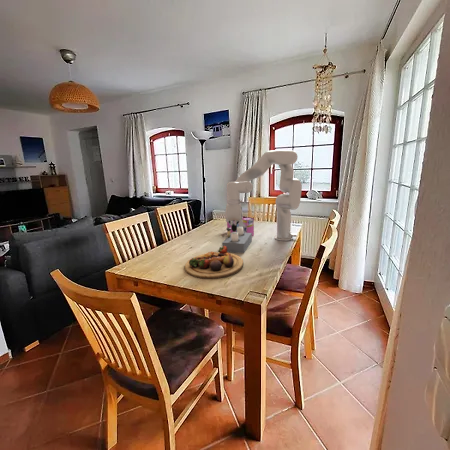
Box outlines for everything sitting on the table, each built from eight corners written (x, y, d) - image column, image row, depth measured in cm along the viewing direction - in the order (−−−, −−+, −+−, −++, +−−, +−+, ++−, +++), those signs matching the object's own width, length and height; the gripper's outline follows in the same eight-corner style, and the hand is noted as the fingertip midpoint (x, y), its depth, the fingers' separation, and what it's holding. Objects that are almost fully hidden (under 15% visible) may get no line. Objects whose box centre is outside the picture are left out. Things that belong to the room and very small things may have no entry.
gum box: (225, 231, 201) (225, 215, 198) (233, 229, 206) (232, 214, 202) (247, 237, 183) (246, 219, 180) (254, 235, 188) (254, 217, 185)
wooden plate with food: (212, 252, 157) (211, 239, 155) (254, 262, 137) (254, 248, 135) (172, 270, 133) (170, 256, 131) (217, 286, 113) (215, 270, 111)
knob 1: (239, 242, 159) (238, 232, 157) (237, 244, 155) (237, 233, 153) (232, 241, 160) (232, 231, 159) (230, 243, 156) (230, 233, 155)
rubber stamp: (231, 236, 166) (231, 227, 165) (230, 237, 164) (230, 228, 162) (227, 236, 167) (227, 227, 166) (226, 237, 164) (225, 228, 163)
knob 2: (244, 235, 172) (243, 226, 170) (242, 237, 168) (242, 228, 166) (238, 235, 173) (237, 226, 172) (236, 237, 169) (236, 227, 167)
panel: (251, 241, 174) (251, 232, 173) (244, 253, 152) (243, 243, 150) (232, 240, 178) (232, 232, 177) (222, 251, 156) (222, 242, 155)
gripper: (246, 201, 152) (247, 230, 157) (223, 201, 157) (224, 229, 161) (244, 203, 145) (244, 233, 150) (220, 203, 150) (221, 232, 154)
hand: (234, 231), depth 155 cm, fingers closed
